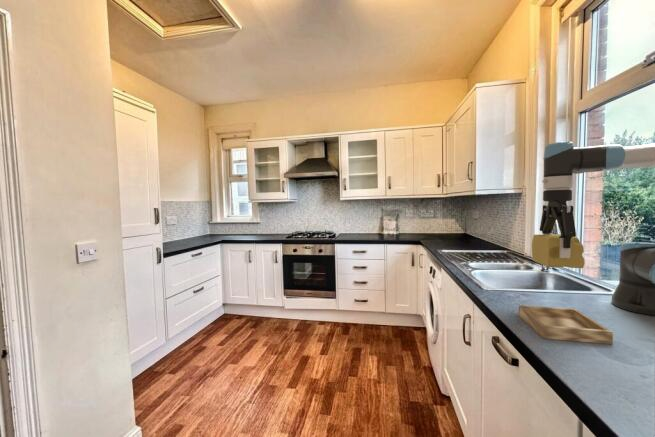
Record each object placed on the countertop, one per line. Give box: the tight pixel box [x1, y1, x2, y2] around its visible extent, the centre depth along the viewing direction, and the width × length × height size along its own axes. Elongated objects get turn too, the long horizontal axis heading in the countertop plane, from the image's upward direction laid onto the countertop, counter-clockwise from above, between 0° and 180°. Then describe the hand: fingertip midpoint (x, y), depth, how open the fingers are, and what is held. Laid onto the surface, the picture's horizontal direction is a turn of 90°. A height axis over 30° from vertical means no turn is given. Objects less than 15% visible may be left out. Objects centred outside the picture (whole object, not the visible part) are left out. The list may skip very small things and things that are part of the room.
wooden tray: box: [518, 305, 614, 345], centre depth 83 cm, size 16×16×3 cm
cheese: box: [531, 233, 586, 269], centre depth 95 cm, size 10×11×10 cm
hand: (555, 254), depth 95 cm, fingers closed on cheese, 10 cm apart
